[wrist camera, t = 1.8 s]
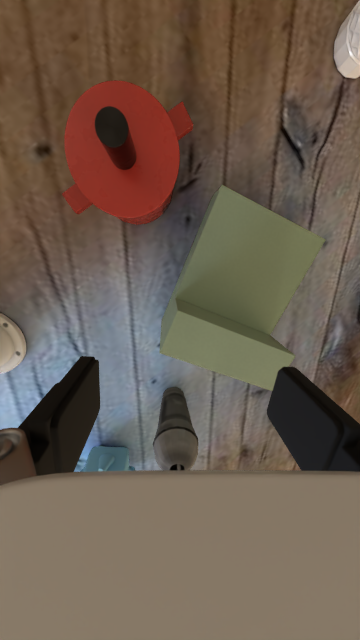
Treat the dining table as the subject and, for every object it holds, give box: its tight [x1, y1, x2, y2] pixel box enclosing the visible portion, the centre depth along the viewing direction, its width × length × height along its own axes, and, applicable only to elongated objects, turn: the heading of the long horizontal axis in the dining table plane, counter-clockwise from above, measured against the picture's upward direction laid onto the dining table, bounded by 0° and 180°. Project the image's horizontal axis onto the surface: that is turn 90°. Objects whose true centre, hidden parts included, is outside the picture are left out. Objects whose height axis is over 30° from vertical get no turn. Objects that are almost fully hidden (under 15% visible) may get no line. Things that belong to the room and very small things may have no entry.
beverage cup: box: [153, 387, 198, 471], centre depth 33 cm, size 7×7×20 cm
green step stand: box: [160, 185, 325, 391], centre depth 30 cm, size 22×17×13 cm
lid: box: [65, 80, 180, 218], centre depth 20 cm, size 12×12×6 cm
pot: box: [62, 102, 193, 225], centre depth 26 cm, size 11×17×8 cm
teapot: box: [80, 446, 135, 472], centre depth 42 cm, size 18×14×10 cm
